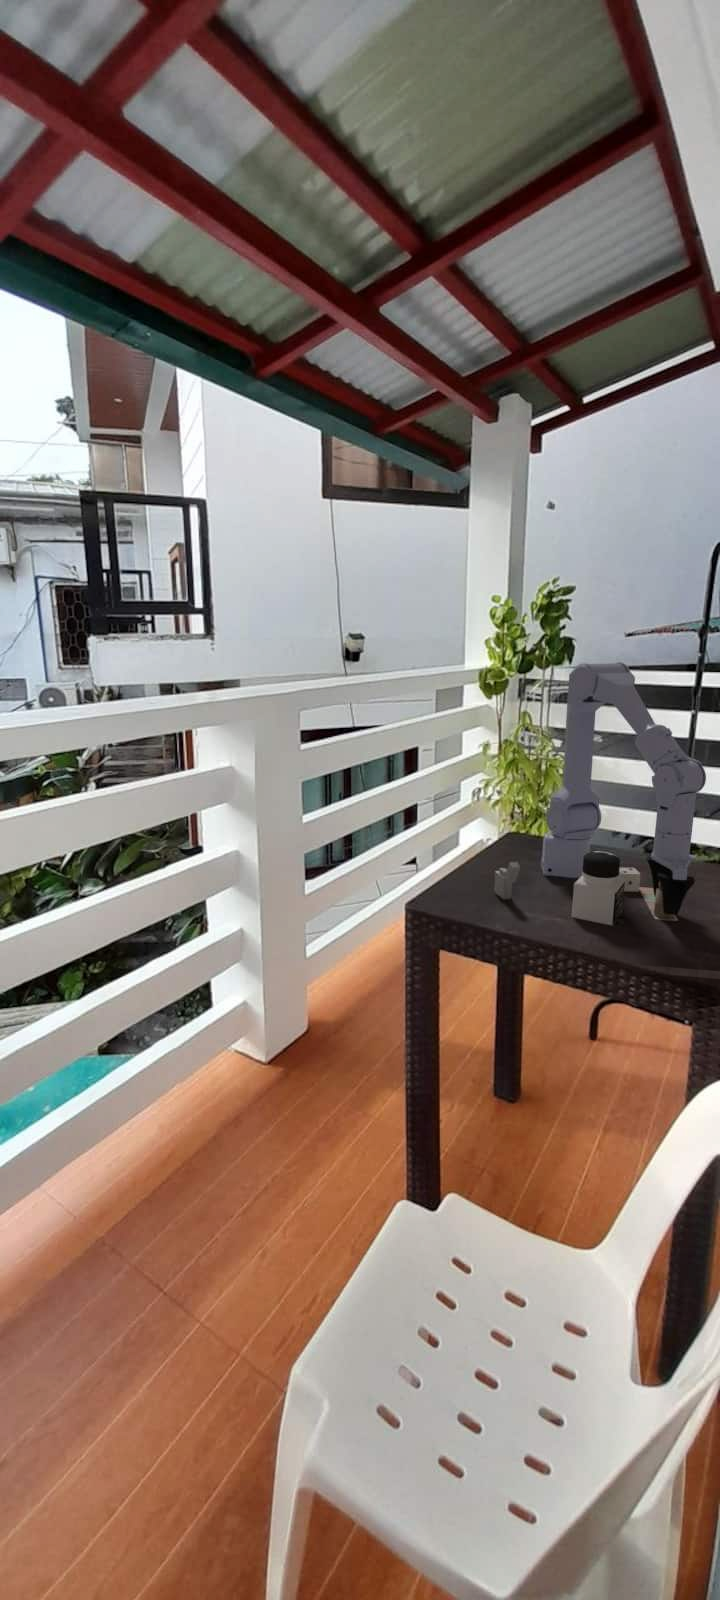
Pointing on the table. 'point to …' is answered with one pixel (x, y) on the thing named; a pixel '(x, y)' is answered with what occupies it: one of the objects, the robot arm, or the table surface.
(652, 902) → the board
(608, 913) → the medicine bottle
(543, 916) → the table surface
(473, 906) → the table surface
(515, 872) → the grey notched upright piece
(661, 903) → the pawn
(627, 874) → the die
